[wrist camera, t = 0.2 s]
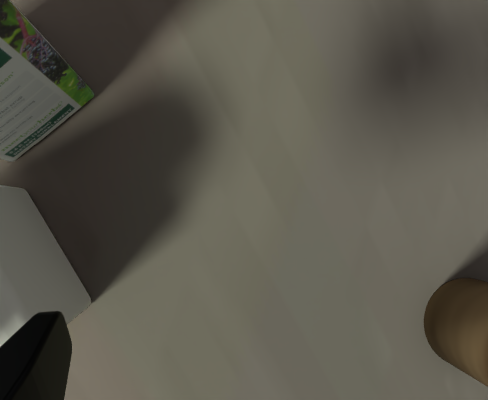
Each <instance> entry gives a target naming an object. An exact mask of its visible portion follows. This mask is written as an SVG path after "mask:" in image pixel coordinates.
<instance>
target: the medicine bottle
mask: <svg viewBox="0 0 488 400" xmlns="http://www.w3.org/2000/svg"><path fill="white" fill-rule="evenodd" d="M90 304H91V298H90V296H89V294H88V293H87V291H86V289H85V288H84V286H83V284H82V283H81V281H80V279H79V278H78V276H77V274H76V273H75V271H74V269H73V268H72V266H71V264H70V263H69V261H68V259H67V258H66V256H65V254H64V253H63V251H62V249H61V248H60V246H59V244H58V243H57V241H56V239H55V238H54V236H53V234H52V232H51V231H50V229H49V227H48V226H47V224H46V222H45V221H44V219H43V217H42V216H41V214H40V212H39V211H38V209H37V207H36V206H35V204H34V202H33V201H32V199H31V197H30V196H29V194H28V192H27V191H26V190H25V189H23V188H18V187H11V186H4V185H0V347H1V346H2V345H3V344H4V343H5V342H6V341H7V340H8V339H9V338H10V337H11V336H12V335H13V334H14V333H15V332H16V331H18V330H19V329H20V328H21V327H22V326H23V325H24V324H25V323H26V322H27V321H28V320H29V319H30V318H31V317H32V316H34V315H35V314H37V313H39V312H48V311H60V312H62V314H63V315H64V318H65V321H66V324H68V323H69V322H71V321H72V320H73V319H74V318H75V317H77V316H78V315H79V314H80V313H82V312H83V311H84V310H85V309H87V308H88V307H89V306H90Z"/></svg>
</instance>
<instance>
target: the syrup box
mask: <svg viewBox="0 0 488 400" xmlns="http://www.w3.org/2000/svg"><path fill="white" fill-rule="evenodd" d="M93 97H94V93H93V91H92V90H91V89H90V88H89V87H88V85H87V84H86V83H85V82H84V81H83V80H82V79H81V78H80V76H79V75H78V74H77V73H76V72H75V71H74V70H73V69H72V68H71V66H70V65H69V64H68V63H67V62H66V61H65V60H64V59H63V58H62V56H61V55H60V54H59V53H58V52H57V51H56V50H55V49H54V48H53V46H52V45H51V44H50V43H49V42H48V41H47V40H46V39H45V38H44V37H43V35H42V34H41V33H40V32H39V31H38V30H37V29H36V28H35V27H34V26H33V24H32V23H31V22H30V21H29V20H28V19H27V18H26V17H25V16H24V15H23V13H22V12H21V11H20V10H19V9H18V8H17V7H16V6H15V5H14V4H13V3H12V2H11V1H10V0H0V159H2V160H6V161H10V162H11V161H15V160H17V159H18V158H19V157H20V156H21V155H22V154H23V153H25V152H26V151H27V150H29V149H30V148H31V147H32V146H34V145H35V144H36V143H38V142H39V141H40V140H42V139H43V138H44V137H46V136H47V135H48V134H49V133H50V132H52V131H53V130H54V129H55V128H56V127H58V126H59V125H60V124H61V123H63V122H64V121H65V120H66V119H67V118H69V117H70V116H71V115H72V114H73V113H75V112H76V111H77V110H78V109H80V108H81V107H82V106H83V105H84V104H85V103H87V102H88V101H89V100H90V99H92V98H93Z"/></svg>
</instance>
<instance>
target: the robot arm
mask: <svg viewBox="0 0 488 400" xmlns="http://www.w3.org/2000/svg"><path fill="white" fill-rule="evenodd" d="M71 354H72V342H71V338H70V335H69V331H68V328H67V324H66V321H65V318H64V315H63V314H62V312H60V311H48V312H39V313H37V314H35V315H34V316H32V317H31V318H30V319H29V320H28V321H27V322H26V323H25V324H24V325H23V326H22V327H21V328H20V329H19V330H18V331H16V332H15V333H14V334H13V335H12V336H11V337H10V338H9V339H8V340H7V341H6V342H5V343H4V344H3V345H2V346H1V347H0V400H64V396H65V390H66V384H67V379H68V373H69V367H70V361H71Z"/></svg>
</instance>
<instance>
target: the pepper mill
mask: <svg viewBox="0 0 488 400" xmlns="http://www.w3.org/2000/svg"><path fill="white" fill-rule="evenodd" d="M424 329H425V334H426V337H427V340H428V342H429V344H430V346H431V348H432V349H433V350H434V352H435V353H436V354H437V355H438V356H439V357H441V358H442V359H443V360H445V361H447V362H448V363H450V364H451V365H453V366H455V367H456V368H458V369H460V370H461V371H463V372H465V373H466V374H468V375H469V376H471V377H473V378H474V379H476V380H478V381H479V382H481V383H483V384H484V385H486V386H487V387H488V282H485V281H481V280H477V279H472V278H459V279H455V280H452V281H449V282H447V283H446V284H444V285H442V286H441V287H440V288H439V289H438V290H437V291H436V292H435V293H434V294H433V295H432V297H431V299H430V300H429V302H428V305H427V307H426V311H425V315H424Z"/></svg>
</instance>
